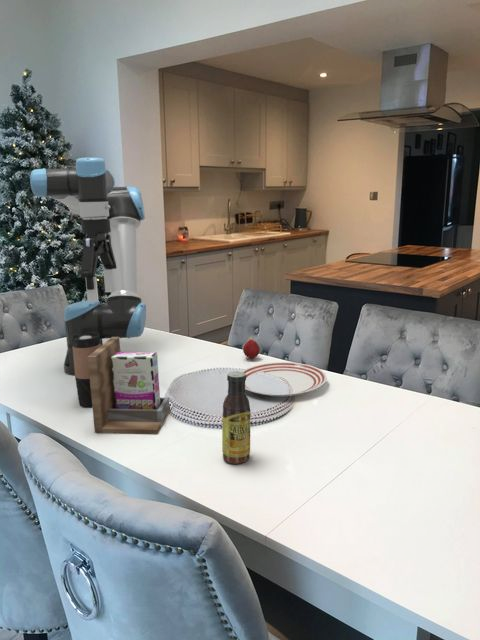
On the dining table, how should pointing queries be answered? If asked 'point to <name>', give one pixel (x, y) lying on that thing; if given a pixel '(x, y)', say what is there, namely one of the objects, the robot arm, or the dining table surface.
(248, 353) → the red rounded piece
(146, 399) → the candy bar box
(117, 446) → the dining table surface
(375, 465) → the dining table surface
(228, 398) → the sauce bottle
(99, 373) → the brown wooden l-shaped stand
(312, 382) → the dinner plate
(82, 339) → the travel mug
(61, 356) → the dining table surface
